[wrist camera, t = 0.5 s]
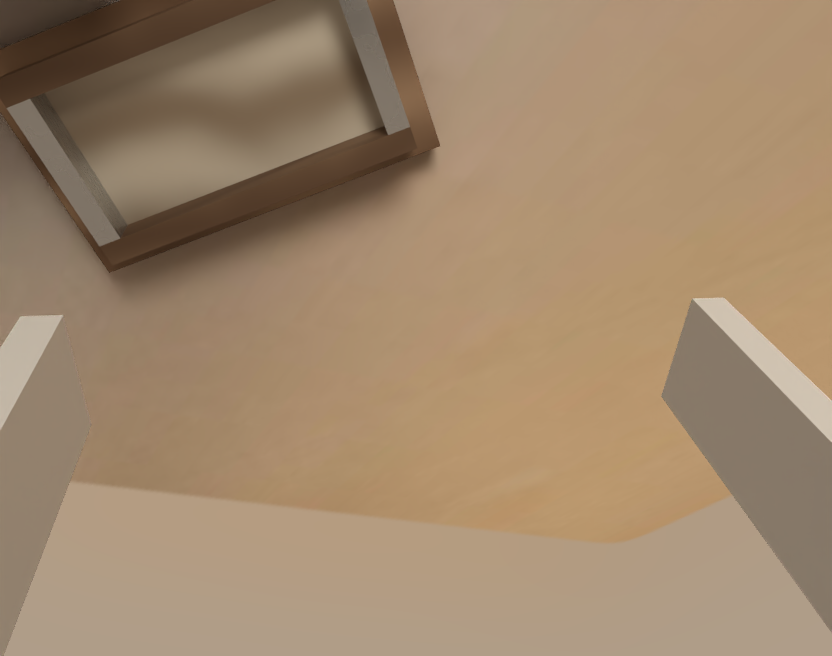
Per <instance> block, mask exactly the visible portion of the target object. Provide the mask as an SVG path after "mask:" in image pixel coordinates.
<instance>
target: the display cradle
mask: <svg viewBox="0 0 832 656" xmlns="http://www.w3.org/2000/svg"><path fill="white" fill-rule="evenodd" d="M0 112H1V114H2V115H3V117H4V118H5V120H6V121H7V123H8V124H9V125H10V127H11V128H12V130H13V131H14V133H15V134H16V136H17V137H18V139H19V140H20V142H21V143H22V145H23V146H24V148H25V149H26V151H27V152H28V153H29V155H30V156H31V158H32V159H33V161H34V162H35V164H36V165H37V167H38V168H39V170H40V171H41V173H42V174H43V176H44V177H45V179H46V180H47V181H48V183H49V184H50V186H51V187H52V189H53V190H54V192H55V193H56V195H57V196H58V198H59V199H60V201H61V202H62V204H63V205H64V207H65V208H66V209H67V211H68V212H69V214H70V215H71V217H72V218H73V220H74V221H75V223H76V224H77V226H78V227H79V229H80V230H81V232H82V233H83V235H84V236H85V237H86V239H87V240H88V242H89V243H90V245H91V246H92V248H93V249H94V251H95V252H96V254H97V255H98V257H99V258H100V260H101V261H102V263H103V264H104V265H105V267H106V268H107V270H108V271H109V273H110V272H112V271H115V270H117V269H120V268H123V267H125V266H128V265H131V264H133V263H136V262H138V261H141V260H144V259H146V258H149V257H151V256H154V255H157V254H159V253H162V252H165V251H167V250H170V249H172V248H175V247H178V246H180V245H183V244H185V243H188V242H191V241H193V240H196V239H199V238H201V237H204V236H206V235H209V234H212V233H214V232H217V231H219V230H222V229H225V228H227V227H230V226H232V225H235V224H238V223H240V222H243V221H246V220H248V219H251V218H253V217H256V216H259V215H261V214H264V213H266V212H269V211H272V210H274V209H277V208H280V207H282V206H285V205H287V204H290V203H293V202H295V201H298V200H300V199H303V198H306V197H308V196H311V195H314V194H316V193H319V192H321V191H324V190H327V189H329V188H332V187H334V186H337V185H340V184H342V183H345V182H347V181H350V180H353V179H355V178H358V177H361V176H363V175H366V174H368V173H371V172H374V171H376V170H379V169H381V168H384V167H387V166H389V165H392V164H395V163H397V162H400V161H402V160H405V159H408V158H410V157H413V156H415V155H418V154H421V153H423V152H426V151H429V150H431V149H434V148H436V147H439V146H440V144H439V141H438V138H437V134H436V131H435V128H434V125H433V122H432V119H431V116H430V113H429V110H428V107H427V104H426V100H425V97H424V94H423V91H422V88H421V85H420V82H419V79H418V76H417V73H416V70H415V66H414V63H413V60H412V57H411V54H410V51H409V48H408V45H407V42H406V39H405V36H404V33H403V29H402V26H401V23H400V20H399V17H398V14H397V11H396V8H395V5H394V2H393V0H120V1H118V2H115V3H113V4H110V5H108V6H105V7H103V8H100V9H98V10H95V11H93V12H90V13H88V14H86V15H83V16H81V17H78V18H76V19H73V20H71V21H68V22H66V23H63V24H61V25H58V26H56V27H53V28H51V29H49V30H46V31H44V32H41V33H39V34H36V35H34V36H31V37H29V38H26V39H24V40H21V41H19V42H17V43H14V44H12V45H9V46H7V47H4V48H2V49H0Z"/></svg>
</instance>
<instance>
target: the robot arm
mask: <svg viewBox="0 0 832 656" xmlns="http://www.w3.org/2000/svg"><path fill="white" fill-rule="evenodd" d="M661 397H662V398H663V399H664V401H665V402H666V404H667V405H668V406H669V408H670V409H671V410H672V412H673V413H674V415H675V416H676V417H677V419H678V420H679V422H680V423H681V424H682V426H683V427H684V428H685V430H686V431H687V433H688V434H689V435H690V437H691V438H692V440H693V441H694V442H695V444H696V445H697V446H698V448H699V449H700V451H701V452H702V453H703V455H704V456H705V458H706V459H707V460H708V462H709V463H710V465H711V466H712V467H713V469H714V470H715V471H716V473H717V474H718V476H719V477H720V478H721V480H722V481H723V483H724V484H725V485H726V487H727V488H728V489H729V491H730V492H731V494H732V495H733V496H734V498H735V499H736V501H737V502H738V503H739V505H740V506H741V508H742V509H743V510H744V512H745V513H746V514H747V515H748V517H749V519H750V520H751V521H752V523H753V524H754V526H755V527H756V528H757V530H758V531H759V532H760V534H761V535H762V537H763V538H764V539H765V541H766V542H767V544H768V545H769V546H770V548H771V549H772V550H773V552H774V553H775V555H776V556H777V557H778V559H779V560H780V562H781V563H782V564H783V566H784V567H785V569H786V570H787V571H788V573H789V574H790V575H791V577H792V578H793V580H794V581H795V582H796V584H797V585H798V587H799V588H800V589H801V591H802V592H803V593H804V595H805V596H806V598H807V599H808V600H809V602H810V603H811V604H812V606H813V607H814V609H815V610H816V612H817V613H818V614H819V616H820V617H821V618H822V620H823V621H824V623H825V624H826V625H827V627H828V628H829V630H830V631H831V632H832V401H831V400H830V399H829V398H828V397H827V396H826V395H825V394H824V393H823V392H822V391H821V390H820V389H819V388H818V387H817V386H816V385H815V384H814V383H813V382H812V381H810V380H809V379H808V378H807V377H806V376H805V375H804V374H803V373H802V372H801V371H800V370H799V369H798V368H797V367H796V366H795V365H794V364H793V363H792V362H791V361H790V360H788V359H787V358H786V357H785V356H784V355H783V354H782V353H781V352H780V351H779V350H778V349H777V348H776V347H775V346H774V345H773V344H772V343H771V342H770V341H769V340H768V339H766V338H765V337H764V336H763V335H762V334H761V333H760V332H759V331H758V330H757V329H756V328H755V327H754V326H753V325H752V324H751V323H750V322H749V321H748V320H747V319H745V318H744V317H743V316H742V315H741V314H740V313H739V312H738V311H737V310H736V309H735V308H734V307H733V306H732V305H731V304H730V303H729V302H728V301H727V300H726V299H725V298H694V299H692V301H691V304H690V307H689V310H688V313H687V317H686V320H685V323H684V326H683V329H682V332H681V336H680V339H679V342H678V345H677V348H676V351H675V355H674V358H673V361H672V364H671V367H670V370H669V374H668V377H667V380H666V383H665V386H664V389H663V393H662V396H661ZM90 427H91V421H90V417H89V413H88V409H87V405H86V401H85V397H84V394H83V390H82V386H81V382H80V378H79V374H78V370H77V366H76V362H75V359H74V355H73V351H72V347H71V343H70V339H69V335H68V331H67V327H66V324H65V320H64V316H63V315H47V316H20V318H19V319H18V321H17V323H16V324H15V326H14V327H13V329H12V330H11V332H10V333H9V335H8V336H7V338H6V340H5V341H4V343H3V344H2V346H1V347H0V656H4V653H5V650H6V648H7V645H8V642H9V639H10V637H11V634H12V632H13V629H14V627H15V624H16V621H17V619H18V616H19V614H20V611H21V608H22V606H23V603H24V600H25V597H26V595H27V593H28V590H29V587H30V585H31V582H32V580H33V577H34V574H35V572H36V569H37V566H38V564H39V561H40V559H41V556H42V553H43V550H44V548H45V545H46V543H47V540H48V538H49V535H50V532H51V530H52V527H53V524H54V522H55V519H56V517H57V514H58V511H59V509H60V506H61V503H62V501H63V498H64V496H65V493H66V490H67V487H68V485H69V482H70V480H71V477H72V475H73V472H74V469H75V467H76V464H77V462H78V459H79V456H80V454H81V451H82V448H83V446H84V443H85V441H86V438H87V435H88V433H89V430H90Z"/></svg>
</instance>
